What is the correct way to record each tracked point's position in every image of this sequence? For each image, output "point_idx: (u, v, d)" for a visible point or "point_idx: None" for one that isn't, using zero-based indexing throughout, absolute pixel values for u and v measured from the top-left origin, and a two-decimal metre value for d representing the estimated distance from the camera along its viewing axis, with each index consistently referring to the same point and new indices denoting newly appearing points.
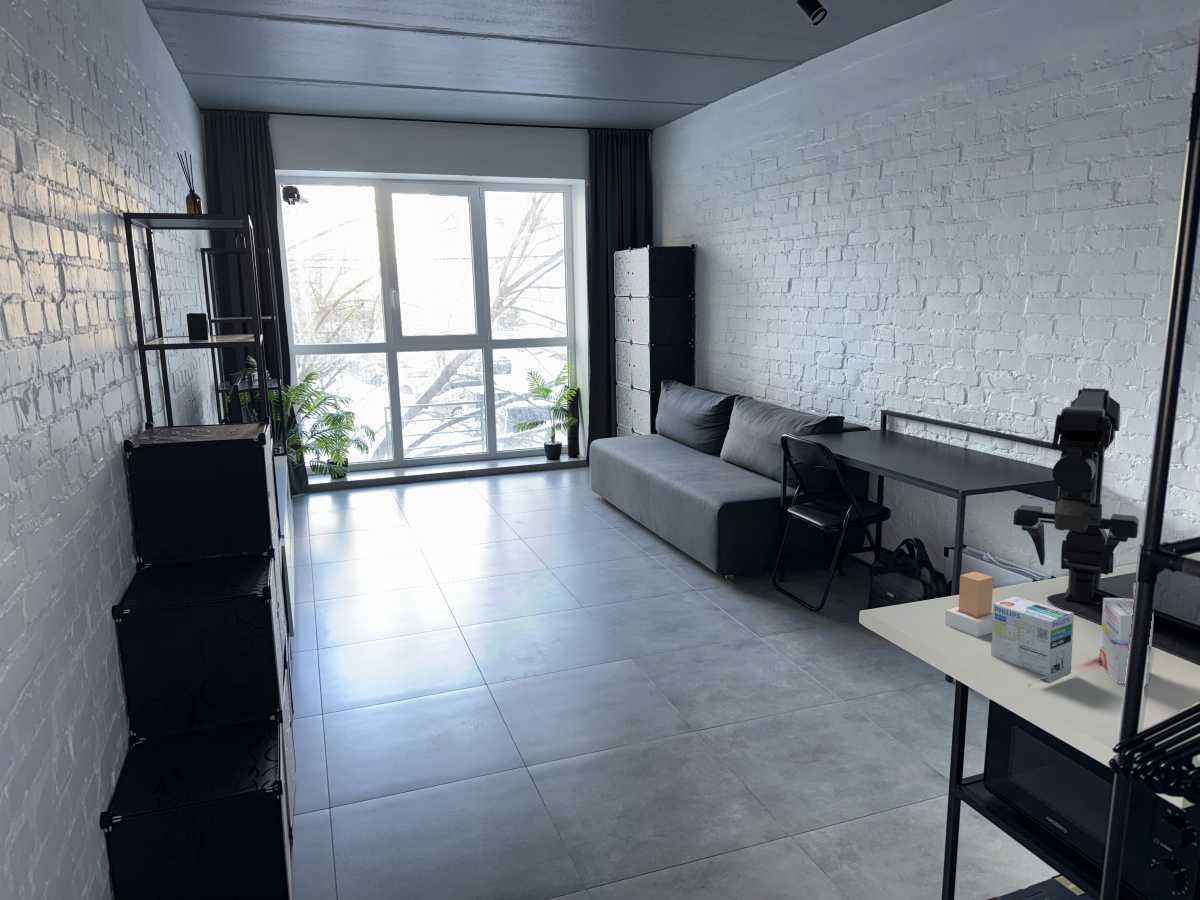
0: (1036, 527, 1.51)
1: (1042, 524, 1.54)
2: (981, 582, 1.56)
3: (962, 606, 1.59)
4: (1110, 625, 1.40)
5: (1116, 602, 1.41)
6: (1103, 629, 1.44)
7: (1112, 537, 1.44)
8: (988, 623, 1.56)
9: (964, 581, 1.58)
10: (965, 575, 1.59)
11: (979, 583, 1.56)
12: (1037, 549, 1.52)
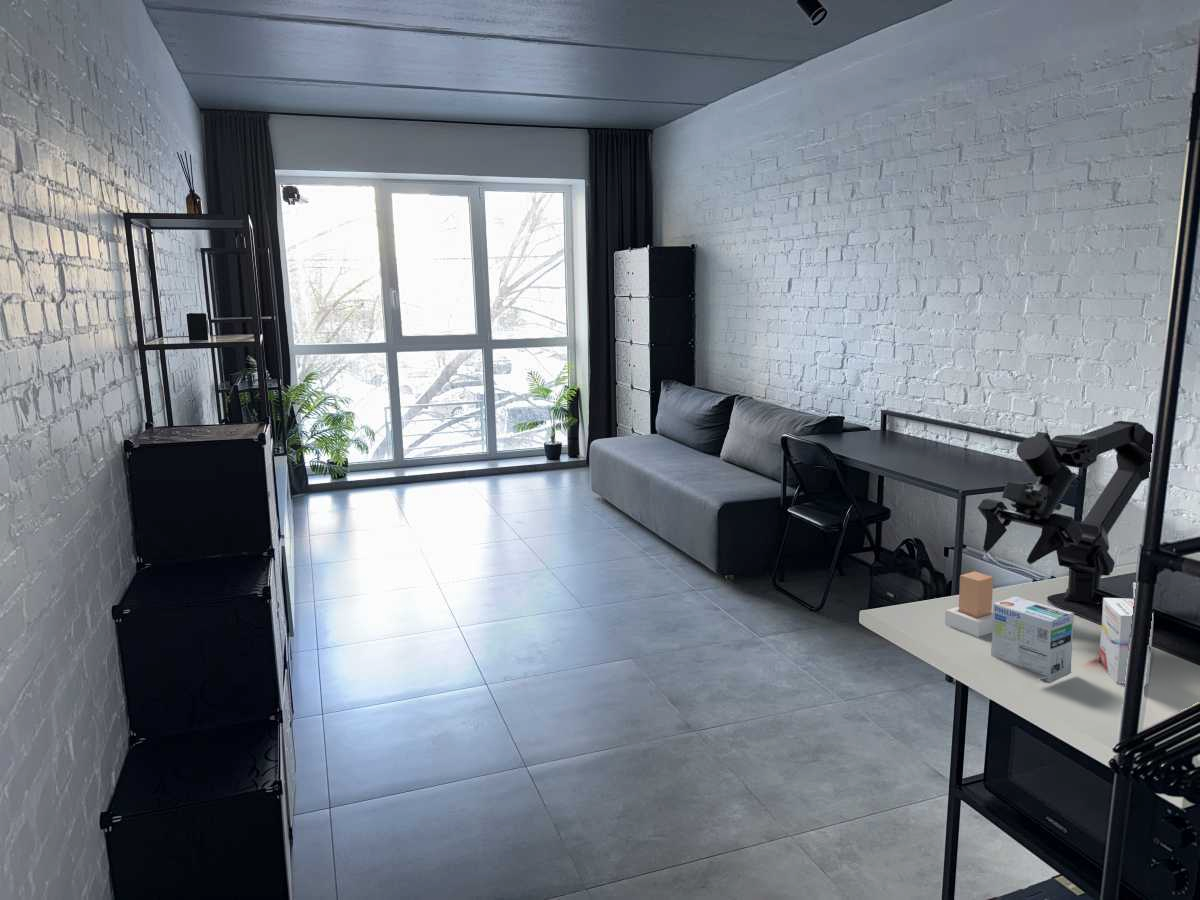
0: None
1: (1004, 526, 1.68)
2: (981, 582, 1.56)
3: (962, 606, 1.59)
4: (1110, 625, 1.40)
5: (1116, 602, 1.41)
6: (1103, 629, 1.44)
7: None
8: (988, 623, 1.56)
9: (964, 581, 1.58)
10: (965, 575, 1.59)
11: (979, 583, 1.56)
12: (986, 534, 1.66)
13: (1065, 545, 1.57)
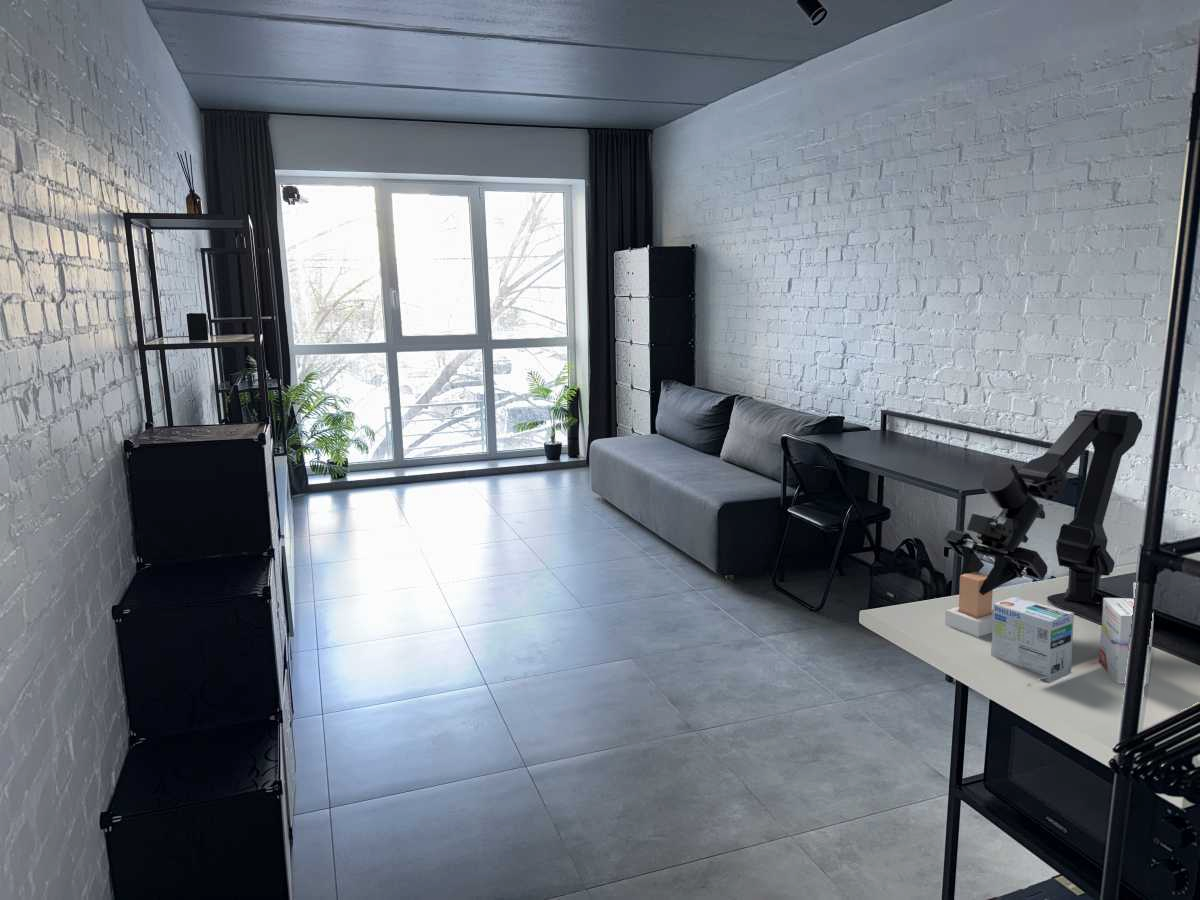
0: None
1: (981, 561, 1.63)
2: (981, 582, 1.56)
3: (962, 606, 1.59)
4: (1110, 625, 1.40)
5: (1116, 602, 1.41)
6: (1103, 629, 1.44)
7: None
8: (988, 623, 1.56)
9: (964, 581, 1.58)
10: (965, 575, 1.59)
11: (979, 583, 1.56)
12: (962, 569, 1.61)
13: (1018, 576, 1.56)
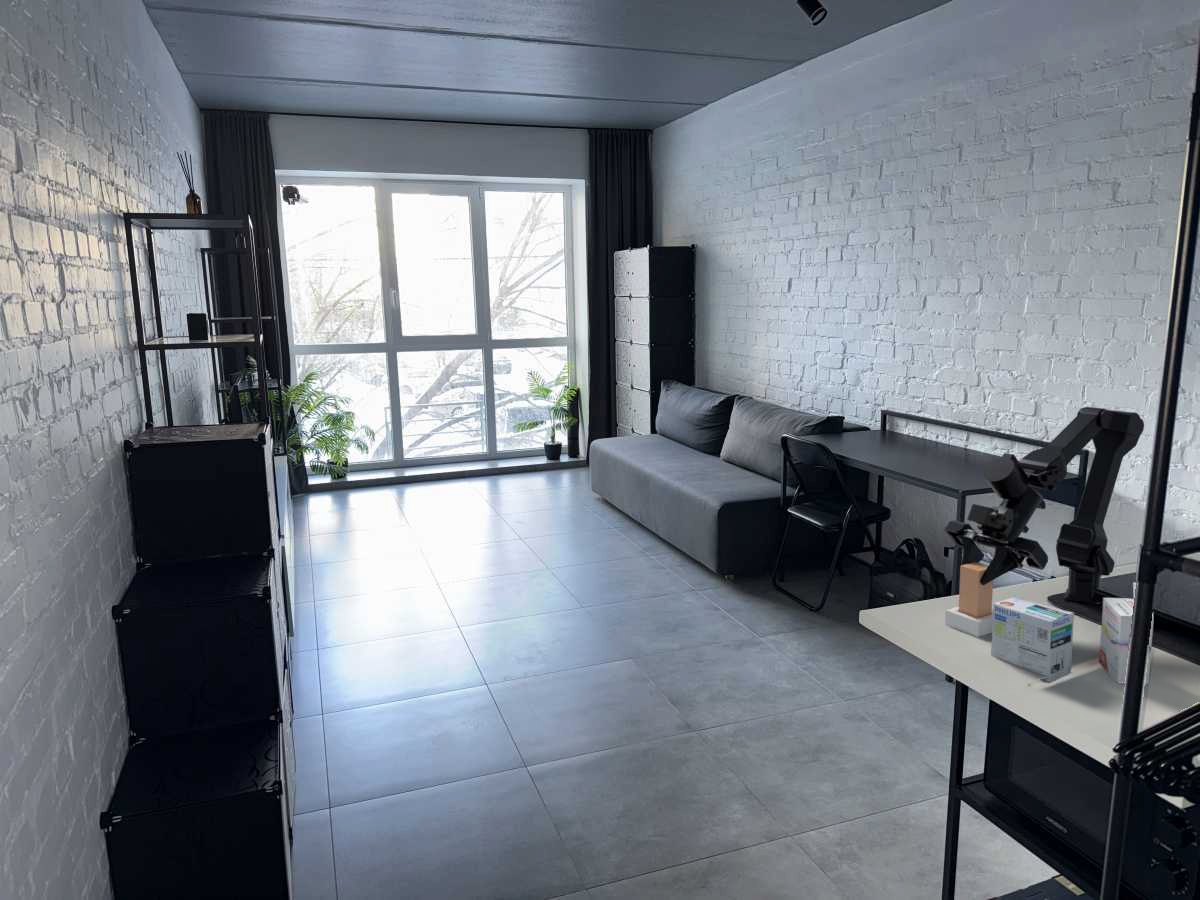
0: None
1: (981, 552, 1.62)
2: (981, 573, 1.56)
3: (962, 597, 1.59)
4: (1110, 625, 1.40)
5: (1116, 602, 1.41)
6: (1103, 629, 1.44)
7: None
8: (988, 623, 1.56)
9: (965, 572, 1.58)
10: (965, 566, 1.59)
11: (979, 573, 1.56)
12: (963, 560, 1.61)
13: (1019, 566, 1.56)
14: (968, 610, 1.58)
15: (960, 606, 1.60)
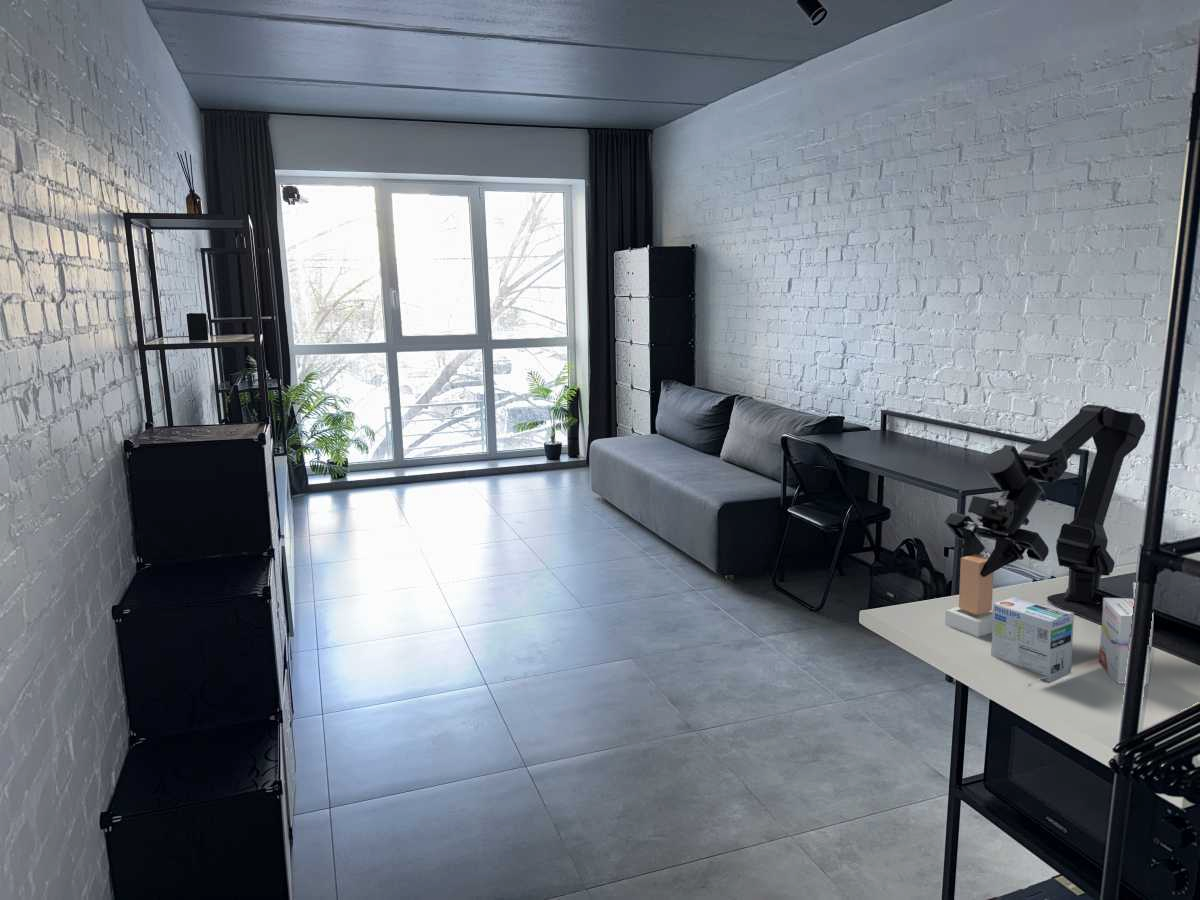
0: None
1: (982, 544, 1.62)
2: (982, 564, 1.56)
3: (963, 589, 1.59)
4: (1110, 625, 1.40)
5: (1116, 602, 1.41)
6: (1103, 629, 1.44)
7: None
8: (988, 623, 1.56)
9: (965, 564, 1.58)
10: (966, 558, 1.58)
11: (980, 565, 1.55)
12: (963, 552, 1.60)
13: (1019, 558, 1.55)
14: (968, 602, 1.58)
15: (960, 598, 1.60)
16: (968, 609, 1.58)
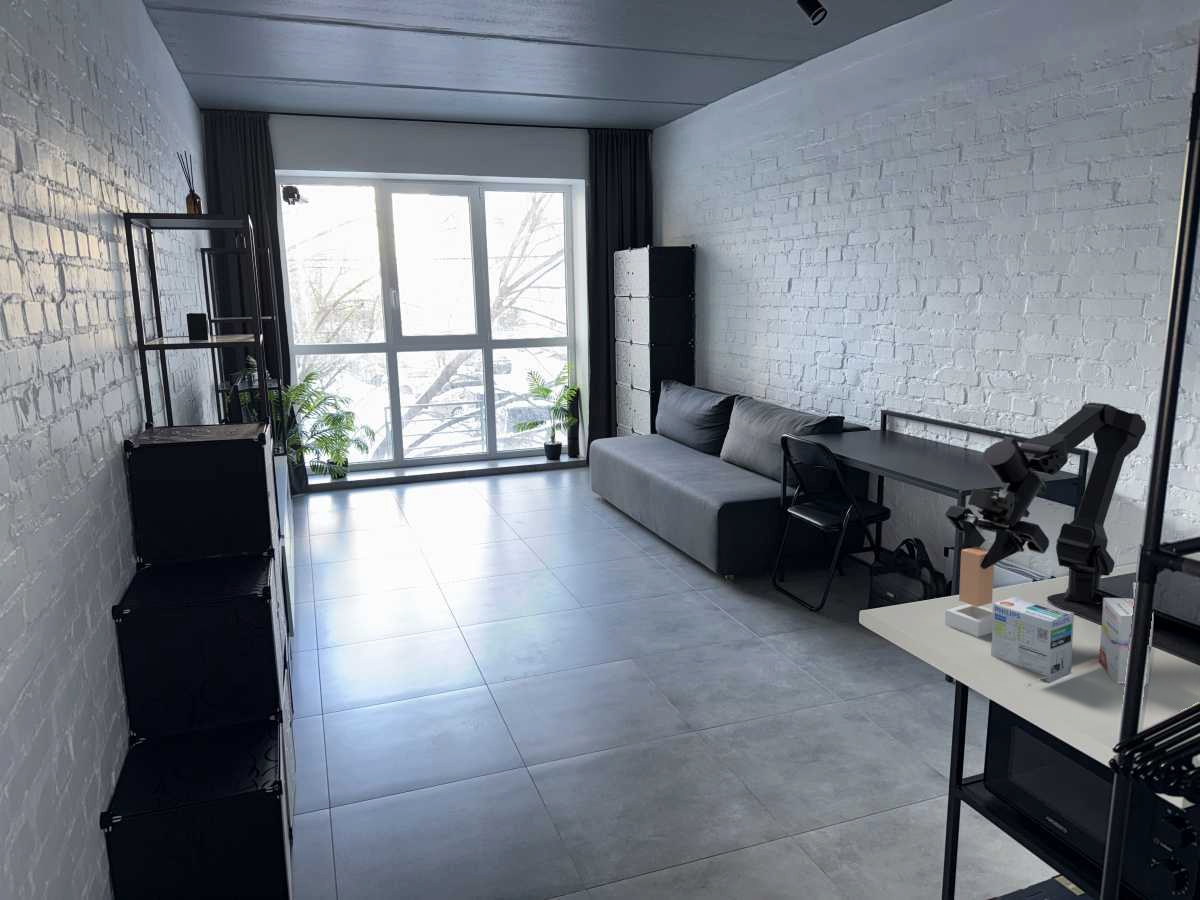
0: None
1: (982, 536, 1.62)
2: (982, 557, 1.55)
3: (963, 581, 1.59)
4: (1110, 625, 1.40)
5: (1116, 602, 1.41)
6: (1103, 629, 1.44)
7: None
8: (988, 623, 1.56)
9: (966, 556, 1.57)
10: (966, 550, 1.58)
11: (980, 558, 1.55)
12: (963, 544, 1.60)
13: (1019, 550, 1.55)
14: (968, 595, 1.58)
15: (961, 591, 1.59)
16: (968, 601, 1.58)
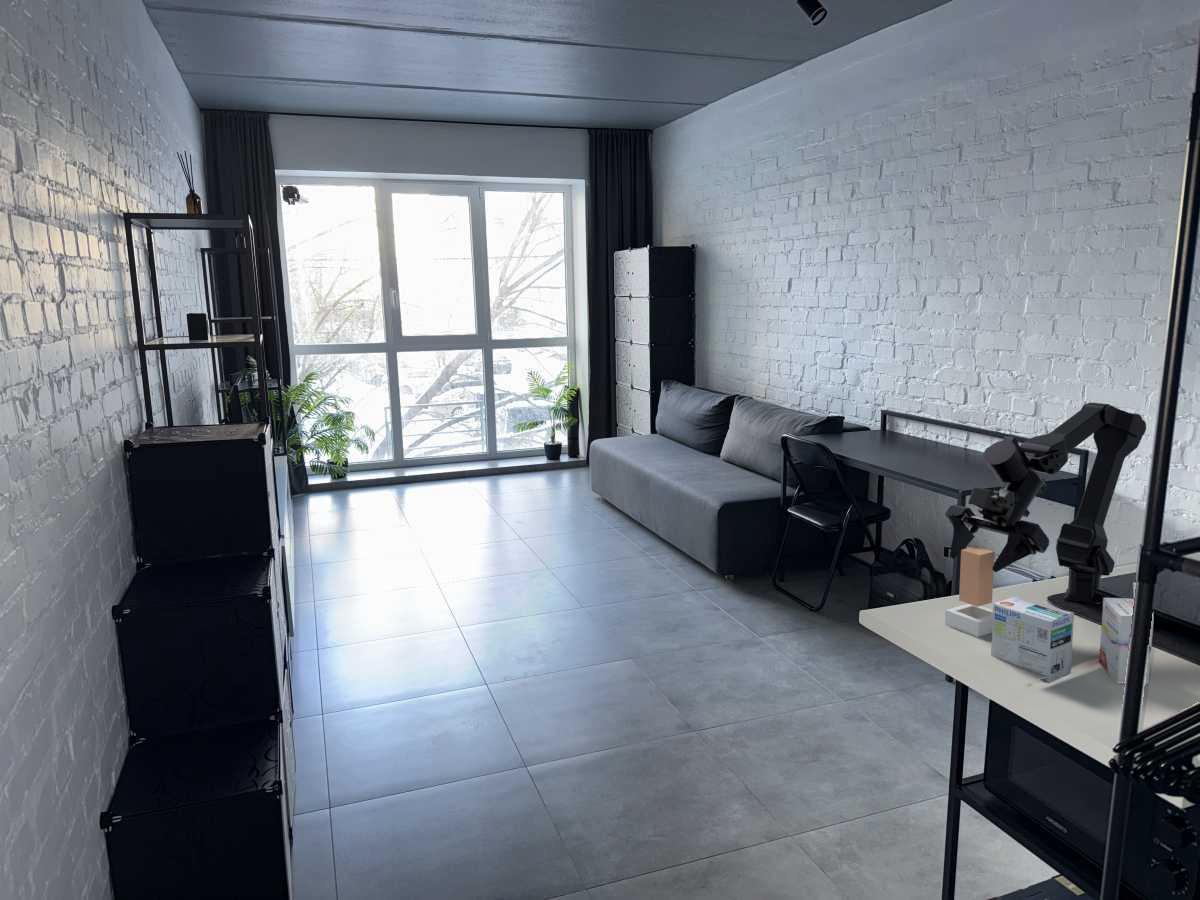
0: None
1: (971, 533, 1.64)
2: (982, 556, 1.55)
3: (963, 581, 1.59)
4: (1110, 625, 1.40)
5: (1116, 602, 1.41)
6: (1103, 629, 1.44)
7: None
8: (988, 623, 1.56)
9: (966, 556, 1.57)
10: (966, 550, 1.58)
11: (980, 557, 1.55)
12: (953, 541, 1.62)
13: (1032, 553, 1.53)
14: (968, 594, 1.58)
15: (961, 590, 1.59)
16: (968, 601, 1.58)
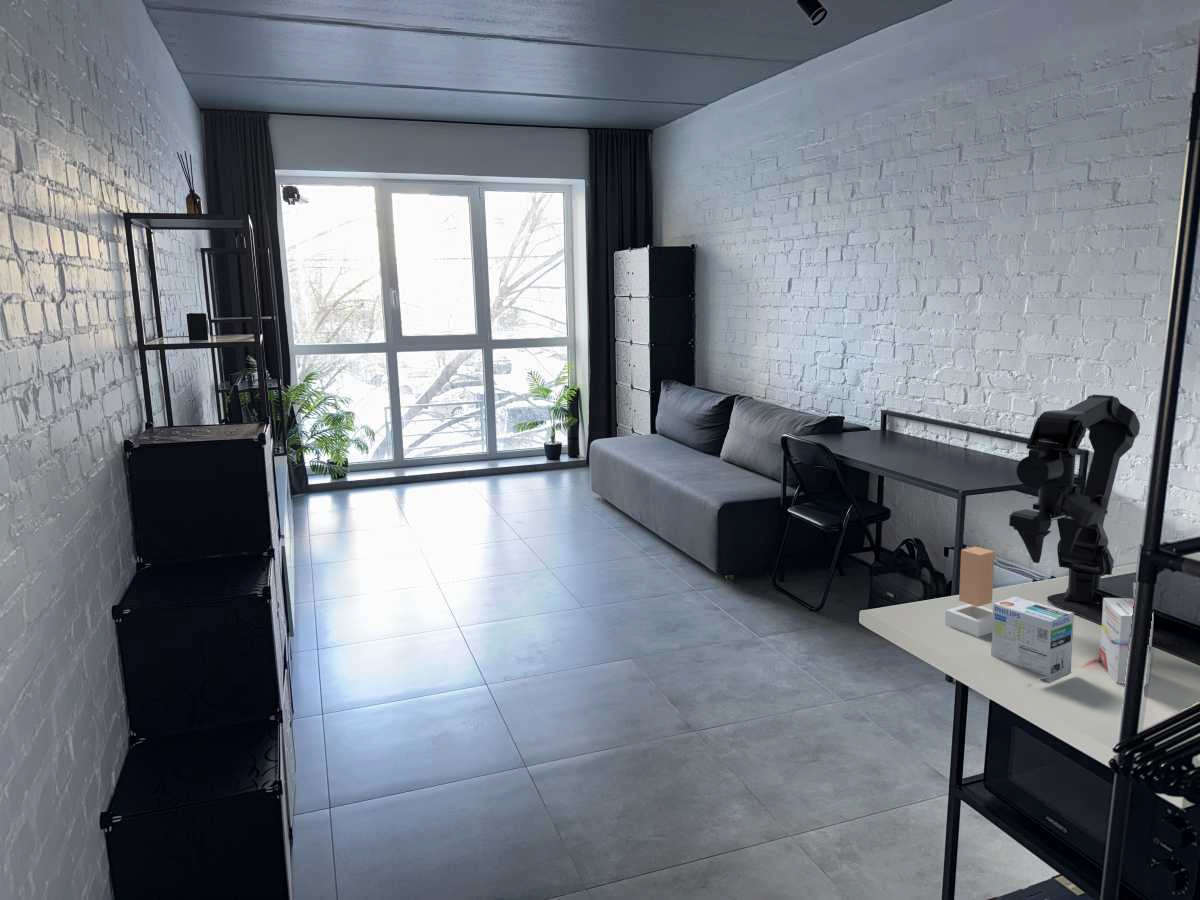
0: None
1: None
2: (982, 556, 1.55)
3: (963, 581, 1.59)
4: (1110, 625, 1.40)
5: (1116, 602, 1.41)
6: (1103, 629, 1.44)
7: None
8: (988, 623, 1.56)
9: (966, 556, 1.57)
10: (966, 550, 1.58)
11: (980, 557, 1.55)
12: (1039, 549, 1.60)
13: None
14: (968, 594, 1.58)
15: (961, 590, 1.59)
16: (968, 601, 1.58)
